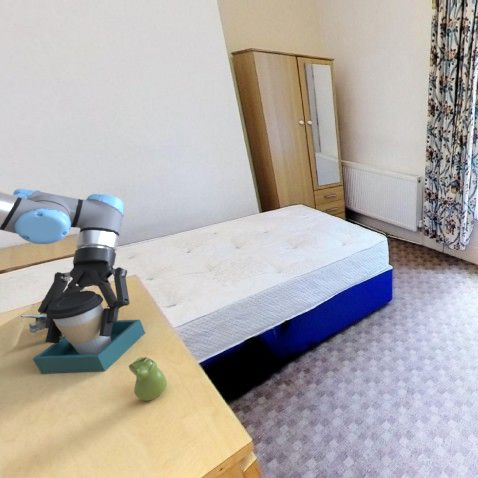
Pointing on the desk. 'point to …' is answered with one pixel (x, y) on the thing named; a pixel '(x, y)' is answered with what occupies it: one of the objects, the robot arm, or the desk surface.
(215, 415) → the desk surface
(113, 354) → the tray
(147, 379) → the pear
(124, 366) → the desk surface
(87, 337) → the coffee cup
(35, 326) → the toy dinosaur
